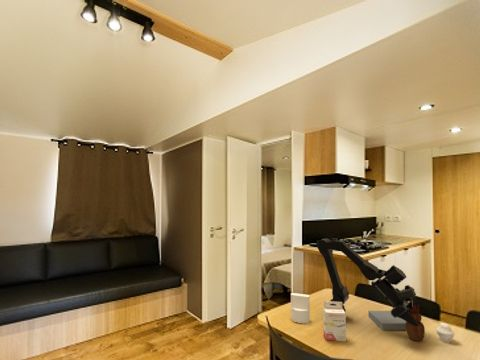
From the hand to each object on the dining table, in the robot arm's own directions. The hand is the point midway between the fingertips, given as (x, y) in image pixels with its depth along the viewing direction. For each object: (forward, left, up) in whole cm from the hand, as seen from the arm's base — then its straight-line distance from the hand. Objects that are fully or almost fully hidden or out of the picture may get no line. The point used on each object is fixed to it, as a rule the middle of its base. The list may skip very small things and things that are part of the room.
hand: (418, 323), depth 117 cm
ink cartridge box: (-35, +2, -7) cm, 36 cm away
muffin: (+11, 0, -7) cm, 13 cm away
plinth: (-4, +16, -7) cm, 18 cm away
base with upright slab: (-46, +20, -7) cm, 51 cm away
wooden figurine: (-1, +1, -7) cm, 7 cm away
